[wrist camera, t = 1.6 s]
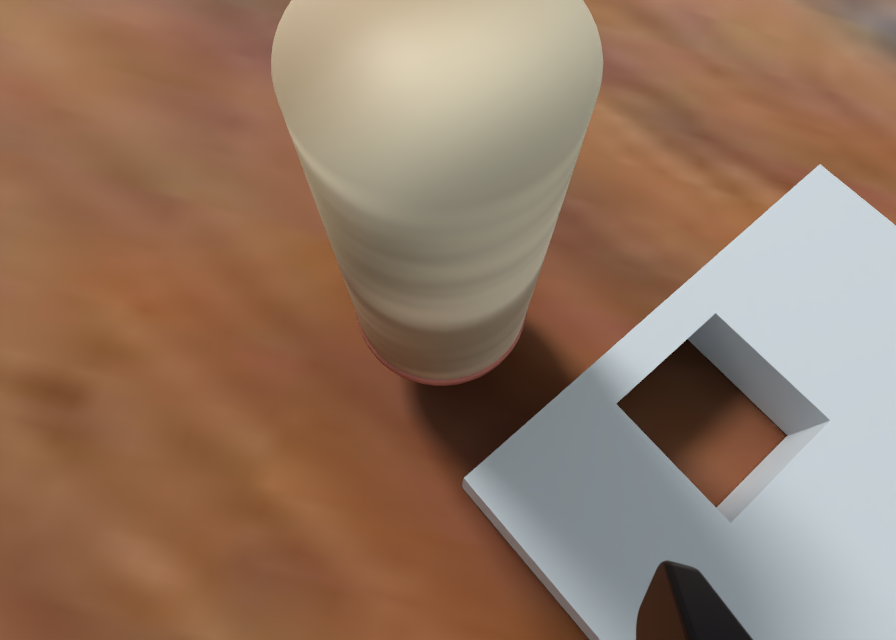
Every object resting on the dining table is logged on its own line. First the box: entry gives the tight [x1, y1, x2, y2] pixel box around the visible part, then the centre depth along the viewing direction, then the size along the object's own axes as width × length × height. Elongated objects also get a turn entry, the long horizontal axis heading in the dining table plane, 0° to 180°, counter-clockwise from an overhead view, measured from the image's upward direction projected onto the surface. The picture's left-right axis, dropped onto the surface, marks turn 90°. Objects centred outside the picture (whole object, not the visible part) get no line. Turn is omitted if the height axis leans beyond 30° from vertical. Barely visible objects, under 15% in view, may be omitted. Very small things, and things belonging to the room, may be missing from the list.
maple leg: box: [271, 0, 603, 386], centre depth 16 cm, size 5×5×13 cm
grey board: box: [462, 165, 896, 640], centre depth 19 cm, size 12×16×2 cm
